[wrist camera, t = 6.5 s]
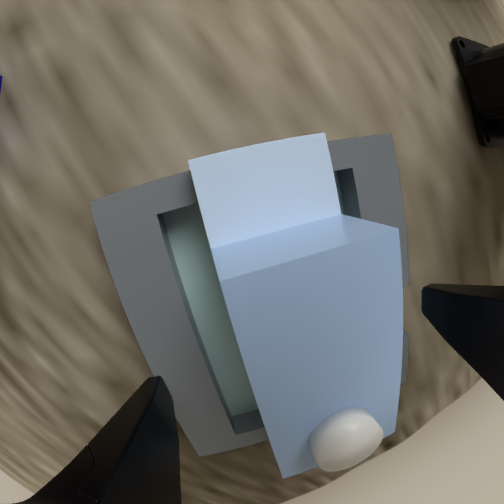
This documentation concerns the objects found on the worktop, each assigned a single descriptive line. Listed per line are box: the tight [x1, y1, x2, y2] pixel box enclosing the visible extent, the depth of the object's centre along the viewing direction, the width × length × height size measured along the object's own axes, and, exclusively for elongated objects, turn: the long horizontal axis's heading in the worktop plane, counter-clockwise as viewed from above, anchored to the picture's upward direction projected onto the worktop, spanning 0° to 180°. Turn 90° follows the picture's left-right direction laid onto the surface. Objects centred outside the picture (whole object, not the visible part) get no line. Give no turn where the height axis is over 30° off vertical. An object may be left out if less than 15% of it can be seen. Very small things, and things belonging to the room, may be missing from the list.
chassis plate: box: [89, 134, 410, 457], centre depth 11 cm, size 10×12×1 cm
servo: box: [188, 133, 403, 479], centre depth 9 cm, size 4×12×6 cm, turn 13°
